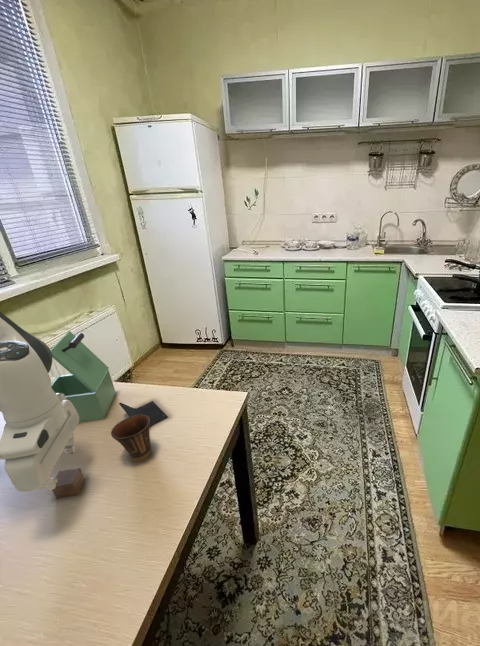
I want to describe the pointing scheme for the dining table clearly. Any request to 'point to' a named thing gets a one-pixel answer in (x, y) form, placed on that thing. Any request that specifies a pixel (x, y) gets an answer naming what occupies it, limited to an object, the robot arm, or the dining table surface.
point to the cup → (134, 436)
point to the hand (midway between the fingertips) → (62, 468)
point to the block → (68, 483)
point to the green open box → (86, 396)
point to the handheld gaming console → (146, 412)
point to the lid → (79, 360)
